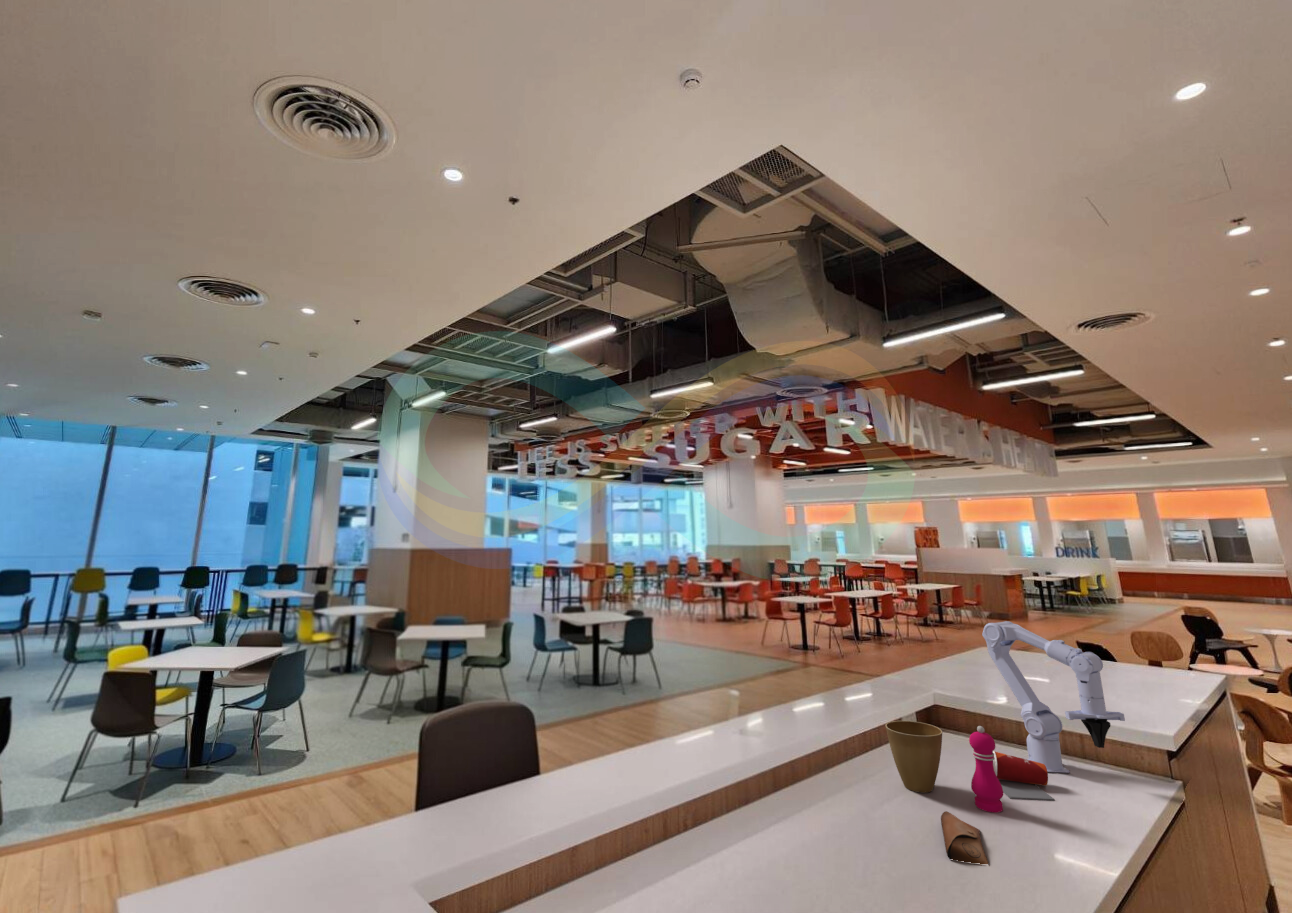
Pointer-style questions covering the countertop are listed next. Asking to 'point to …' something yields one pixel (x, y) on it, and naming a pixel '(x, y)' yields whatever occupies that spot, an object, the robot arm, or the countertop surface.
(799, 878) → the countertop surface
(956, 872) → the countertop surface
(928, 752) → the plant pot
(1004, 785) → the mat
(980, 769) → the pepper mill
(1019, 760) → the paper cup
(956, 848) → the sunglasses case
